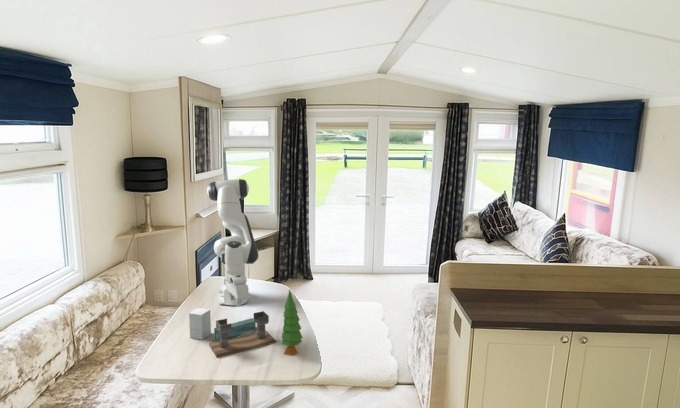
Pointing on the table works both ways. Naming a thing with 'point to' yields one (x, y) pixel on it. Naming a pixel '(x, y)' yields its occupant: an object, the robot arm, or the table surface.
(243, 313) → the table surface
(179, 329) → the table surface
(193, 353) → the table surface
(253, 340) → the bracket stand
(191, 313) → the supplement box
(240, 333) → the teal rail
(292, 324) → the decorative tree
